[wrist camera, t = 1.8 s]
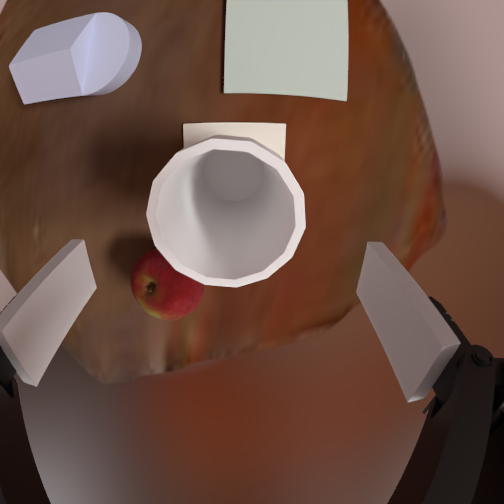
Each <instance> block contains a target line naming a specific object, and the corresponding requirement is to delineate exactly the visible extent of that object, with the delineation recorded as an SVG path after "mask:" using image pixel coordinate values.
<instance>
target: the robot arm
mask: <svg viewBox="0 0 504 504" xmlns="http://www.w3.org/2000/svg"><path fill="white" fill-rule="evenodd" d="M95 289H96V284H95V281H94V277H93V274H92V270H91V266H90V263H89V259H88V255H87V251H86V247H85V242H84V239H74V240H71V241H70V242H68V243H67V244H66V245H65V246H64V247H63V248H62V249H61V250H60V251H59V252H58V253H57V254H56V255H55V256H54V257H53V258H52V259H51V260H50V261H49V262H48V263H47V264H46V265H45V266H44V267H43V268H42V269H41V270H40V271H39V272H38V273H37V274H36V275H35V276H34V277H33V278H32V279H31V280H30V281H29V282H28V283H27V284H26V285H25V286H24V288H23V289H22V290H21V291H20V292H19V293H18V294H17V295H16V296H15V297H14V298H13V299H12V300H11V301H10V302H9V303H8V305H7V306H6V307H5V308H4V309H3V311H2V312H1V313H0V504H51V503H50V501H49V498H48V496H47V494H46V491H45V489H44V486H43V483H42V481H41V478H40V475H39V473H38V470H37V467H36V464H35V460H34V457H33V454H32V451H31V448H30V444H29V440H28V436H27V432H26V428H25V424H24V419H23V414H22V409H21V404H20V398H19V393H18V386H17V382H16V380H15V379H14V377H13V376H14V375H15V373H16V372H17V373H18V374H19V376H20V377H21V379H22V380H23V382H26V383H28V384H31V385H34V386H37V385H38V383H39V381H40V379H41V377H42V376H43V374H44V372H45V370H46V368H47V366H48V365H49V362H50V361H51V359H52V357H53V356H54V354H55V352H56V350H57V349H58V347H59V345H60V344H61V342H62V340H63V339H64V337H65V336H66V334H67V332H68V331H69V329H70V327H71V326H72V324H73V323H74V321H75V320H76V318H77V316H78V315H79V313H80V312H81V310H82V309H83V307H84V306H85V304H86V303H87V301H88V300H89V298H90V297H91V295H92V294H93V292H94V291H95ZM356 293H357V295H358V297H359V299H360V301H361V303H362V305H363V306H364V309H365V311H366V313H367V314H368V317H369V319H370V321H371V323H372V325H373V327H374V329H375V331H376V333H377V335H378V337H379V339H380V341H381V343H382V346H383V348H384V350H385V352H386V354H387V356H388V359H389V361H390V363H391V365H392V367H393V370H394V372H395V374H396V377H397V379H398V381H399V383H400V386H401V388H402V390H403V393H404V395H405V398H406V400H407V402H412V401H415V400H419V399H423V398H425V397H426V396H427V394H428V393H429V392H430V390H431V389H432V388H433V389H434V392H435V394H436V395H435V396H434V398H433V399H432V400H431V402H430V403H429V404H428V405H427V407H426V408H425V410H424V411H423V413H424V414H425V413H426V412H427V410H428V409H429V411H428V414H427V417H426V420H425V423H424V425H423V428H422V431H421V433H420V436H419V439H418V441H417V444H416V446H415V448H414V451H413V453H412V455H411V458H410V460H409V462H408V464H407V467H406V469H405V471H404V473H403V475H402V477H401V479H400V481H399V483H398V485H397V487H396V489H395V491H394V493H393V495H392V496H391V498H390V500H389V502H388V503H387V504H504V358H494V357H493V355H492V354H491V353H490V352H489V351H488V350H487V349H486V348H484V347H482V346H479V345H471V344H470V343H469V341H468V340H467V338H466V337H465V336H464V335H463V333H462V331H461V330H460V329H459V327H458V326H457V324H456V323H455V322H454V321H453V319H452V318H451V317H450V315H449V314H447V311H446V310H445V309H444V307H443V306H442V305H441V304H440V303H439V302H438V301H436V300H435V299H434V298H432V297H427V296H426V294H425V293H424V292H423V291H422V289H421V288H420V287H419V286H418V284H417V283H416V282H415V280H414V279H413V278H412V277H411V275H410V274H409V273H408V272H407V271H406V269H405V268H404V267H403V266H402V265H401V263H400V262H399V261H398V260H397V259H396V257H395V256H394V255H393V254H392V253H391V252H390V250H389V249H388V248H387V247H386V246H385V245H384V244H383V243H382V242H368V243H367V248H366V252H365V257H364V262H363V266H362V270H361V275H360V279H359V283H358V287H357V291H356Z"/></svg>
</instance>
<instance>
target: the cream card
mask: <svg viewBox="0 0 504 504" xmlns="http://www.w3.org/2000/svg"><path fill="white" fill-rule="evenodd" d="M214 135H228V136H240V137H250V138H253V139H254V140H256V141H258V142H259V143H261V144H263V145H264V146H266V147H268V148H269V149H271V150H272V151H274V152H276V153H277V154H279V155H280V156H281V157H282V159H283V160H284V156H285V135H286V124H279V123H248V122H223V123H191V124H183V138H184V148H185V147H187V146H189V145H192V144H194V143H197V142H199V141H202V140H204V139H207V138H209V137H212V136H214Z"/></svg>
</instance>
